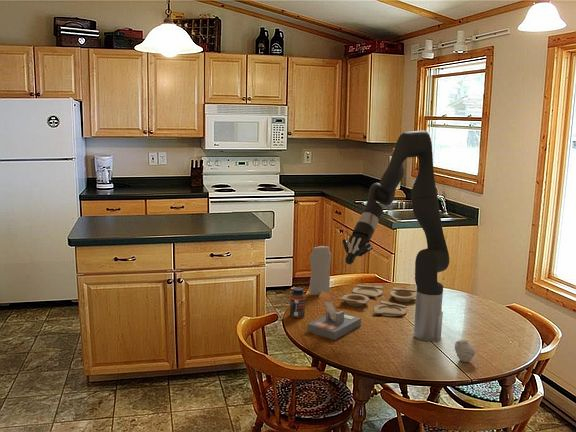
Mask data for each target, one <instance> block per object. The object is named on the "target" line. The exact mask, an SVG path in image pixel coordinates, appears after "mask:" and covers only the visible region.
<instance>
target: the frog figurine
mask: <svg viewBox="0 0 576 432" xmlns="http://www.w3.org/2000/svg"><path fill="white" fill-rule="evenodd" d="M454 350H455V353H456V357H457V358H458V360H459V361H461V362H463V363H469V362H470V361H472V360H473V357H475V353H476V352H475V348H474V347H473V345H472V344H471V343H469V341H468V339H460V340H458V341H456V342H455V343H454Z"/></svg>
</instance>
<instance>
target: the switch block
mask: <svg viewBox="0 0 576 432" xmlns="http://www.w3.org/2000/svg"><path fill="white" fill-rule="evenodd" d="M361 326H362V317H359V316H358V317H357V316H354V315H350V314H346V313H345V311H344V310H341V311H336V321H334V320H331V319H330V313H329V310H328V309H326V310H325V315H323V316H321V317H320V318H316V319H315V320H313V321H311V322H309V323H307V328H306V329H307V330H306V331H307V332H308V333H310V334H314V335H316V336H320V337H323V338H326V339H330V340H333V341H335V340H337V339H339V338H341V337H343V336H345V335H347V334H348V333H350V332H352V331H354V330H355V329H359V328H360V327H361Z"/></svg>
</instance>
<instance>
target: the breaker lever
mask: <svg viewBox="0 0 576 432" xmlns="http://www.w3.org/2000/svg"><path fill="white" fill-rule="evenodd" d="M318 297H319V300H320V301H322V302H324V303H325V306H326V308H327V310H329V313H330V319H331V320H334V321H336V312H337V311H336V308H335V307H334V305H333V303H332V300H333V299H334V297H333V295H332V293H330V292H329V293H326V292H321V294H320V295H318Z"/></svg>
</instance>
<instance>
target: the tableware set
mask: <svg viewBox="0 0 576 432" xmlns="http://www.w3.org/2000/svg"><path fill="white" fill-rule="evenodd" d="M355 286H356V287H354V288H352V291H351V293H347V294H345V295H342V297H338V301H342V302H344V303H346V304H347V306H351V307H356V308H358V307H363V306H364V305H365V304H367V303H369V302H370V298H378V297H380V296H382V295H383V290H381V289H384V286H383V285H364V284H356V285H355ZM391 289H392V290H391V291H390V292H389V294H390V296H391V297H393V298H394V301H397V302H400V303H410V302H411V301H412V299H416V292H417V289H411V288H402V287H396V286H395V287H392V288H391ZM379 303H380V304H377V305H375V306H374V307H373V314H375V315H376V314H377V315H380V316H384V317H400V316H404V315H406V312H407V309H406V308H408V306H406V305H404V304H399V303H394V302H391V301H390V302H389V301H385V300H379Z"/></svg>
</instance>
